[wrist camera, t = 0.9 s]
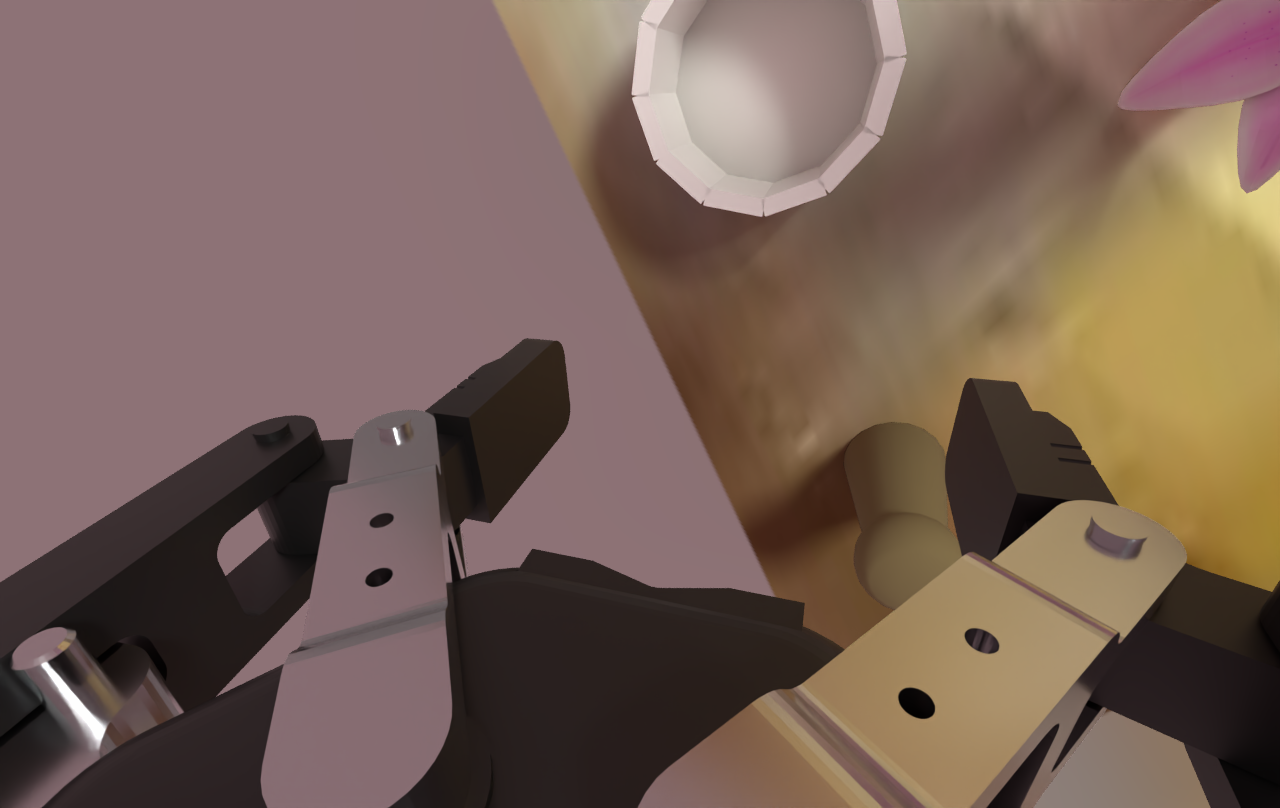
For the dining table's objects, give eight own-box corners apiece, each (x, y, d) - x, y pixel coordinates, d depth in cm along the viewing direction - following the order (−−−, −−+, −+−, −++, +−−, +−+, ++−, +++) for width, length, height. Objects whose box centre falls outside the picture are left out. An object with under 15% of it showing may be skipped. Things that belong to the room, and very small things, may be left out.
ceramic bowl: (768, -118, 26) (752, -167, 21) (943, 54, 27) (967, 47, 22) (627, 100, 32) (588, 102, 27) (775, 235, 33) (764, 262, 28)
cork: (823, 456, 39) (819, 573, 29) (903, 404, 36) (926, 516, 26) (884, 516, 40) (899, 649, 30) (967, 471, 36) (1012, 603, 27)
